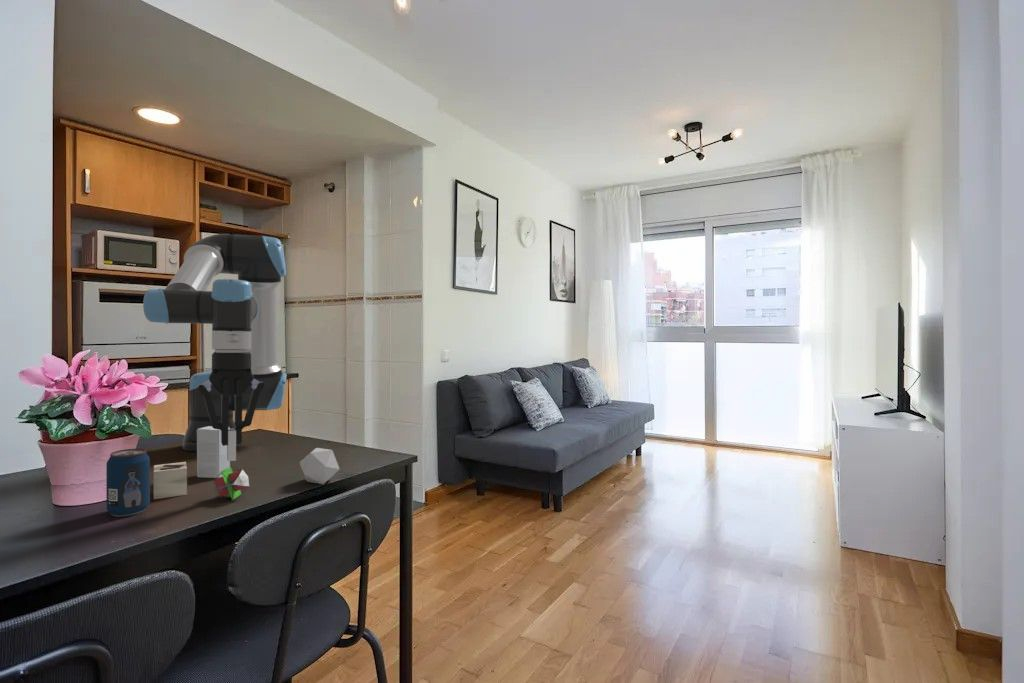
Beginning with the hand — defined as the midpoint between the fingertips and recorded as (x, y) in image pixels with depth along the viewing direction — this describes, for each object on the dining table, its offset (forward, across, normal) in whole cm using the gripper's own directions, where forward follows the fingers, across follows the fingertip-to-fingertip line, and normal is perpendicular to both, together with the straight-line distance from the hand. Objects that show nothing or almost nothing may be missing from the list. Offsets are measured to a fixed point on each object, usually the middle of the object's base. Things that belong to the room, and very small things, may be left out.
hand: (231, 459), depth 111 cm
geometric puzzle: (+9, 0, 0) cm, 9 cm away
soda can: (+9, -18, +1) cm, 20 cm away
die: (+9, +19, +2) cm, 21 cm away
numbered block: (+8, -11, +10) cm, 17 cm away
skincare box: (+8, -2, +20) cm, 22 cm away
